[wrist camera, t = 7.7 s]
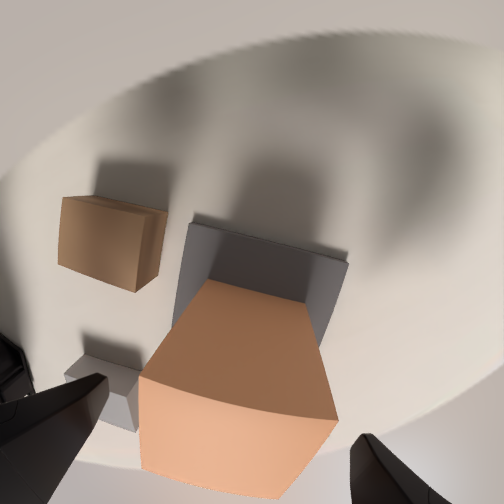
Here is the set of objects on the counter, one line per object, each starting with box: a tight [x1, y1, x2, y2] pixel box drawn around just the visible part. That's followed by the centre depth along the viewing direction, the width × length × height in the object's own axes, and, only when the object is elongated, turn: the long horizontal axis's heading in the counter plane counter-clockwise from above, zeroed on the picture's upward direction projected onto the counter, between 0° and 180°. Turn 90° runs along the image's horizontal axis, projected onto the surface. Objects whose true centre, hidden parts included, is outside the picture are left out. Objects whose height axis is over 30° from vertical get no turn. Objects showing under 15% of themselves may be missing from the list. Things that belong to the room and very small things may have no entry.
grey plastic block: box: [64, 354, 141, 433], centre depth 15 cm, size 5×4×3 cm
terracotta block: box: [138, 279, 339, 499], centre depth 10 cm, size 5×5×8 cm
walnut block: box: [58, 195, 168, 293], centre depth 13 cm, size 5×4×3 cm
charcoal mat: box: [171, 222, 349, 348], centre depth 14 cm, size 8×10×1 cm
